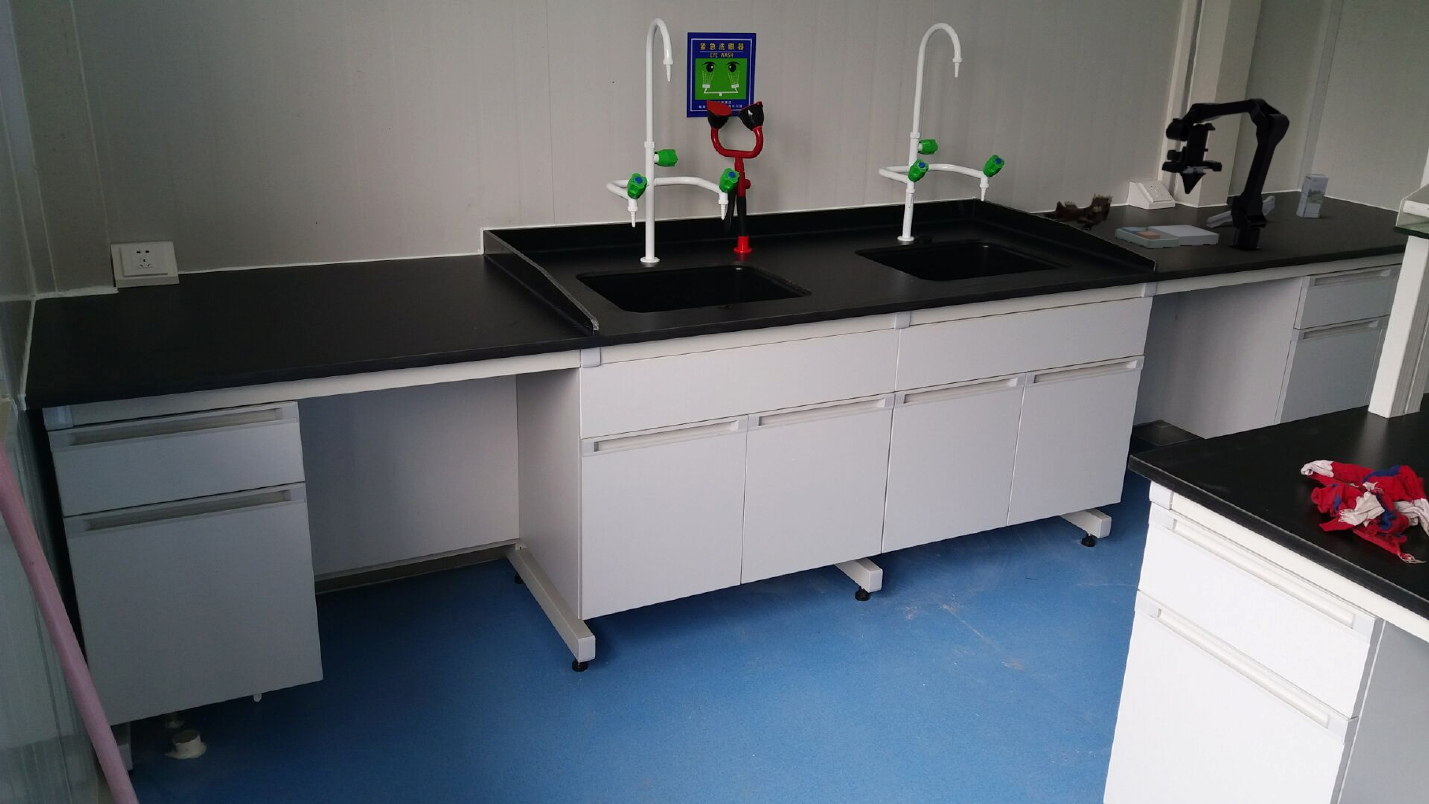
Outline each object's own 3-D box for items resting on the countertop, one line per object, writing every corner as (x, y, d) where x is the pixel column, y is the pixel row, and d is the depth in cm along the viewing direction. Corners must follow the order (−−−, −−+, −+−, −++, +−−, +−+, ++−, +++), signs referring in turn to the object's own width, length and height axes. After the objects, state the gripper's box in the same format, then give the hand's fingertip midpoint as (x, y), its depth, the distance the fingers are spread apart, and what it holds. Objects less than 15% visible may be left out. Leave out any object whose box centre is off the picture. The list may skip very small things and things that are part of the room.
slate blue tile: (1131, 231, 333) (1130, 239, 334) (1145, 230, 334) (1144, 238, 335) (1122, 227, 337) (1120, 235, 338) (1136, 227, 339) (1134, 234, 340)
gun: (1273, 218, 367) (1275, 195, 363) (1209, 240, 356) (1210, 217, 353) (1268, 217, 368) (1270, 194, 365) (1204, 239, 358) (1206, 216, 354)
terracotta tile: (1146, 235, 328) (1144, 243, 329) (1160, 234, 329) (1159, 242, 330) (1136, 231, 332) (1134, 239, 333) (1150, 231, 333) (1148, 239, 334)
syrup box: (1312, 215, 379) (1322, 173, 374) (1319, 218, 374) (1329, 176, 368) (1295, 214, 380) (1304, 172, 374) (1302, 218, 374) (1311, 175, 369)
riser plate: (1217, 244, 333) (1219, 234, 332) (1176, 246, 329) (1178, 236, 328) (1186, 234, 345) (1187, 224, 344) (1146, 236, 341) (1148, 226, 340)
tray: (1177, 247, 328) (1179, 238, 327) (1147, 248, 325) (1149, 240, 324) (1143, 235, 342) (1145, 227, 341) (1114, 236, 339) (1115, 229, 338)
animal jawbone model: (1132, 233, 358) (1140, 204, 353) (1077, 244, 348) (1085, 215, 342) (1093, 212, 371) (1101, 185, 365) (1040, 223, 360) (1047, 195, 355)
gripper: (1203, 139, 349) (1194, 188, 355) (1154, 140, 344) (1145, 190, 349) (1227, 144, 339) (1218, 194, 345) (1178, 146, 334) (1169, 196, 339)
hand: (1187, 193), depth 345 cm, fingers closed
